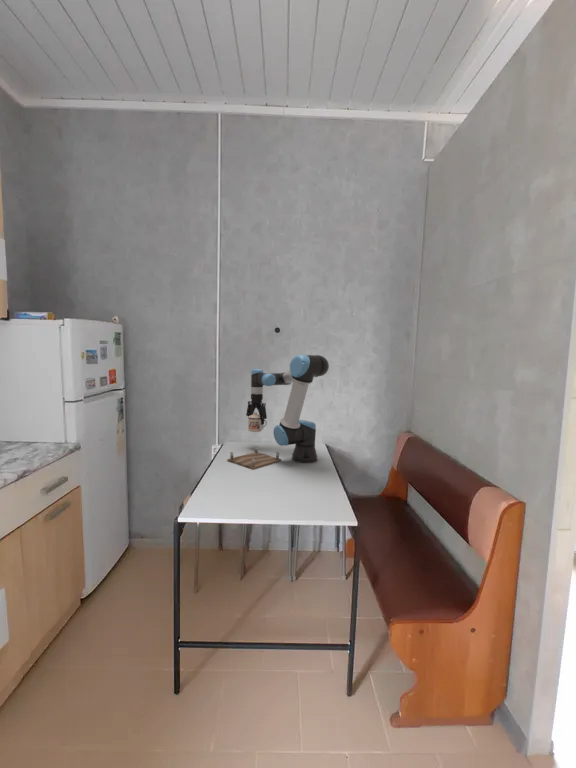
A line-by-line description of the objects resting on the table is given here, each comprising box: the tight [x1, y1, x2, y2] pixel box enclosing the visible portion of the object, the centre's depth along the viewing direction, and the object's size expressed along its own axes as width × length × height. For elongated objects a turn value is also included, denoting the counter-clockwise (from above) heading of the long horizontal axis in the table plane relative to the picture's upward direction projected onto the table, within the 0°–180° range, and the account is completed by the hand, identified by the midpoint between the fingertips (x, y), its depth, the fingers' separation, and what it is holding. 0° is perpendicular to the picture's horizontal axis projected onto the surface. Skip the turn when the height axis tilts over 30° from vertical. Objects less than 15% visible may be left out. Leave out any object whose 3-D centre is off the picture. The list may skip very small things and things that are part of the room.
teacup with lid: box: [247, 411, 268, 433], centre depth 249 cm, size 12×9×12 cm
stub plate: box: [226, 446, 283, 471], centre depth 225 cm, size 21×23×5 cm
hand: (256, 428), depth 250 cm, fingers closed on teacup with lid, 9 cm apart
